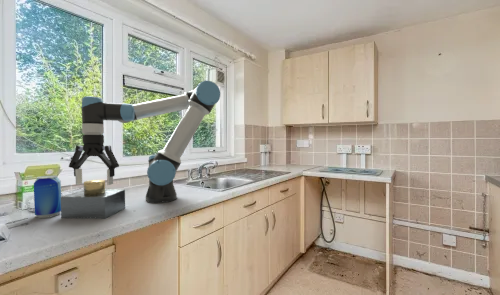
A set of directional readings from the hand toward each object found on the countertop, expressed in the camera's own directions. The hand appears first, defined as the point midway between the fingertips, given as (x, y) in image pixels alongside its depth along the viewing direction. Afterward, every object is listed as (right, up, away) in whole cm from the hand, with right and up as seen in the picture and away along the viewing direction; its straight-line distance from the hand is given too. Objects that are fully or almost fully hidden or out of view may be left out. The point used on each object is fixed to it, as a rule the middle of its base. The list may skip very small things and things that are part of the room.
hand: (94, 184), depth 101 cm
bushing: (0, -12, +1) cm, 12 cm away
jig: (0, -12, +1) cm, 12 cm away
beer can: (-17, -13, -3) cm, 21 cm away
